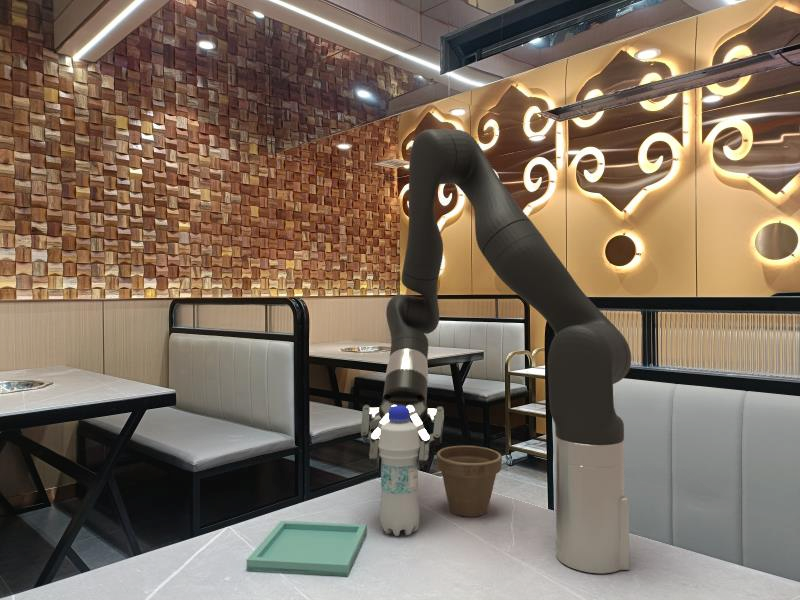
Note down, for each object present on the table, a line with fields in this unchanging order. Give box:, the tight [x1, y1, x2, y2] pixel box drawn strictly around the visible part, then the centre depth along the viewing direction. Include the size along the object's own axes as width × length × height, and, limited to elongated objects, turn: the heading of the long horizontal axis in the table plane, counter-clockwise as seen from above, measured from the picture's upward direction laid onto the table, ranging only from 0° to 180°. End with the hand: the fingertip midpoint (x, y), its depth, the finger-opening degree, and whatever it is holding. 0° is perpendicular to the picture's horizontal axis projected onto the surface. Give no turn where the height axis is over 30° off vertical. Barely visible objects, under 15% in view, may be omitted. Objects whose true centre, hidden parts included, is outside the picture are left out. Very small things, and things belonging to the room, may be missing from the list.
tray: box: [246, 520, 368, 577], centre depth 83 cm, size 14×14×2 cm
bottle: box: [378, 405, 420, 537], centre depth 91 cm, size 7×7×20 cm
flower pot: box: [436, 445, 503, 518], centre depth 99 cm, size 12×11×10 cm
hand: (398, 464), depth 89 cm, fingers closed on bottle, 6 cm apart
